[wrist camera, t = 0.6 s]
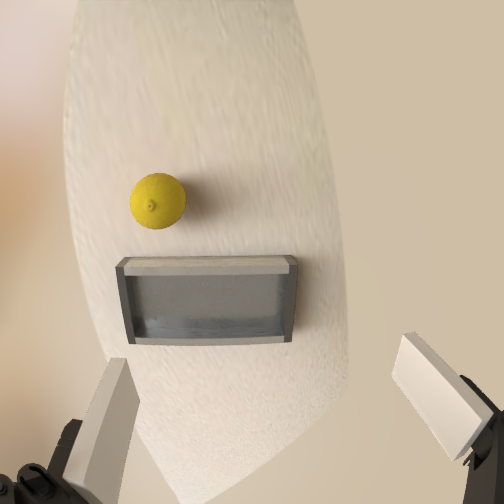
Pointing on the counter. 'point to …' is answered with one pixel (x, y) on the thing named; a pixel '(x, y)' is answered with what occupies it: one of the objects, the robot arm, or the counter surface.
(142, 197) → the lemon
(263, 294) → the tray
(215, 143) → the counter surface
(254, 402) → the counter surface
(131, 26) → the counter surface
